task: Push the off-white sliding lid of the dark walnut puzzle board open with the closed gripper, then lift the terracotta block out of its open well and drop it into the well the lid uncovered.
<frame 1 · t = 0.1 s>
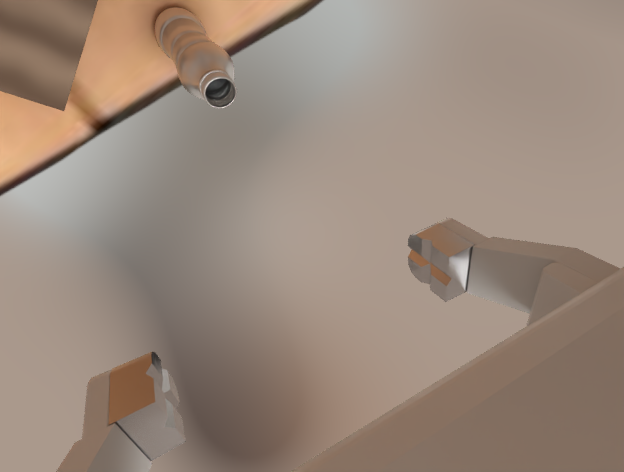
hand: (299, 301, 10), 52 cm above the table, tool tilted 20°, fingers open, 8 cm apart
plastic bottle: (176, 28, 49), on the table
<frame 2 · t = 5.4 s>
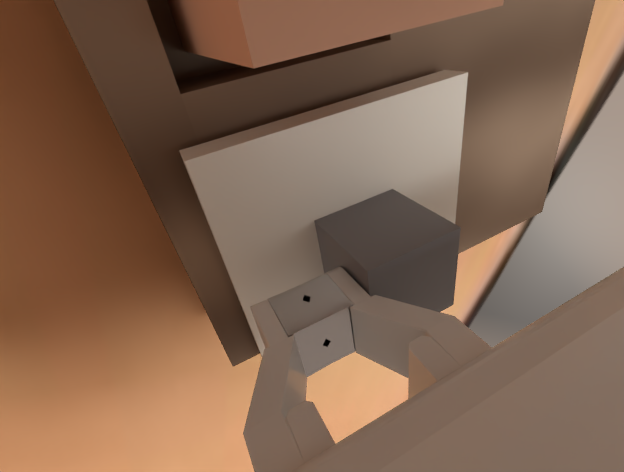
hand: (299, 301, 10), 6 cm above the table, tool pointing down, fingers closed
board: (354, 69, 14), on the table
lid: (375, 255, 11), point 6 cm above the table, slide at 0.7 cm, touching gripper
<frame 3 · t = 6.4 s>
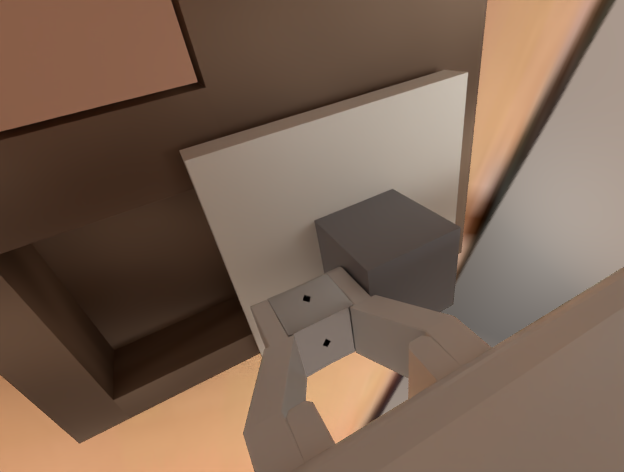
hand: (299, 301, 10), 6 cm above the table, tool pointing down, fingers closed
board: (219, 107, 13), on the table
lid: (375, 255, 11), point 6 cm above the table, slide at 6.5 cm, touching gripper
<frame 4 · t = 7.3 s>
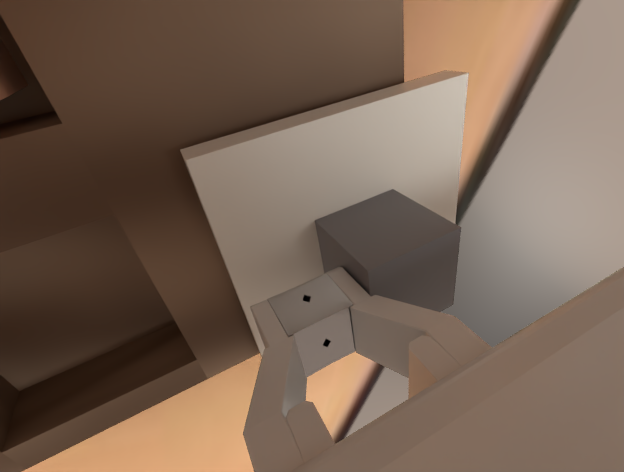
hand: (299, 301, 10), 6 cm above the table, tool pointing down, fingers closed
board: (121, 133, 12), on the table
lid: (375, 255, 11), point 6 cm above the table, slide at 10.0 cm, touching gripper
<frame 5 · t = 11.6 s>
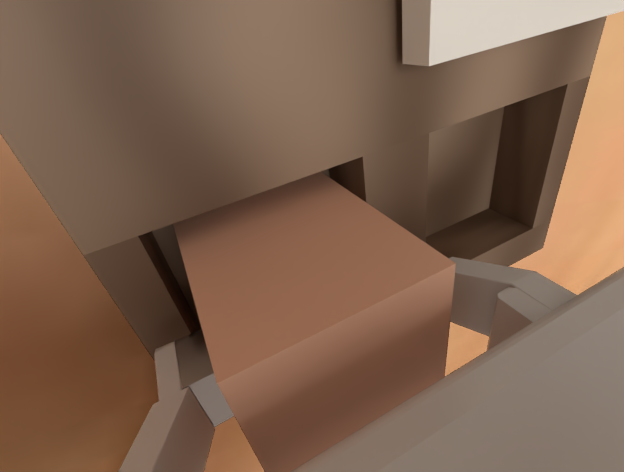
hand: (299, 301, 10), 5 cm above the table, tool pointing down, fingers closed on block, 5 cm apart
board: (338, 102, 13), on the table
block: (260, 244, 13), point 1 cm above the table, touching board, gripper
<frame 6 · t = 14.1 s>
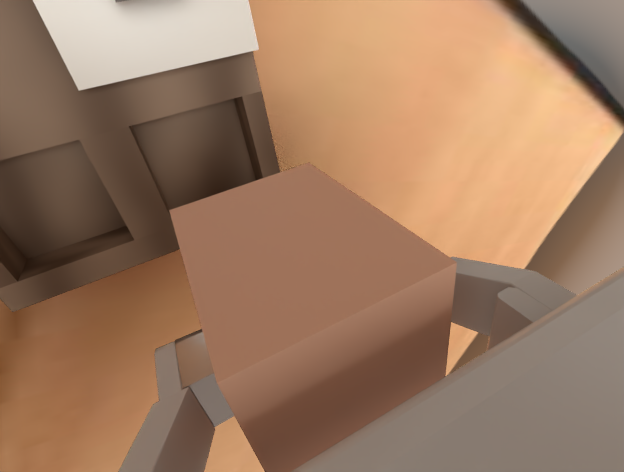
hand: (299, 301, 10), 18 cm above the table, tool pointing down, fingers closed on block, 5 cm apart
board: (100, 107, 21), on the table
block: (260, 243, 13), point 14 cm above the table, touching gripper
when the fingers open (6 cm above the table, at t = 16.6 s): block stays where it is, resting on board.
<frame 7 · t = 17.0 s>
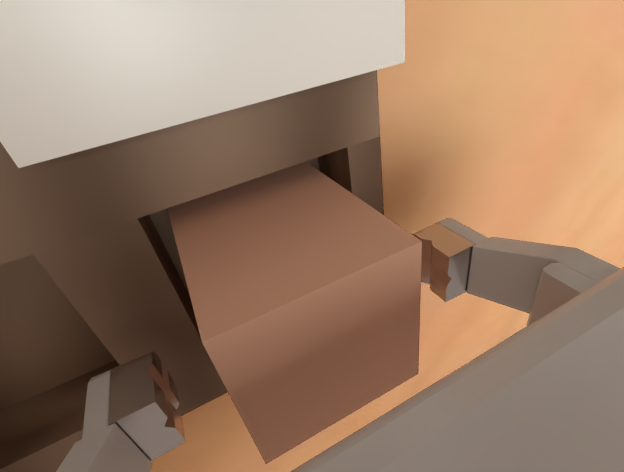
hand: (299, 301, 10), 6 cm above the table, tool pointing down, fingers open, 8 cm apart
board: (83, 167, 11), on the table
block: (252, 233, 14), point 1 cm above the table, touching board
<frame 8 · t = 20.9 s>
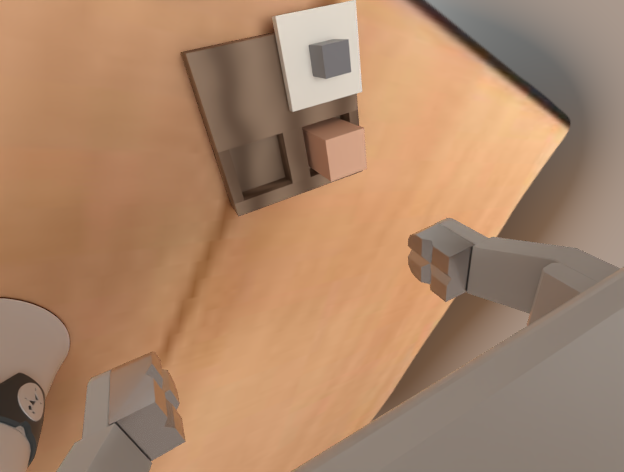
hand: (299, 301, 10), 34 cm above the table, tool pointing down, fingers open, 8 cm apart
board: (280, 117, 42), on the table
lid: (327, 58, 36), point 6 cm above the table, slide at 10.0 cm
block: (319, 140, 45), point 1 cm above the table, touching board
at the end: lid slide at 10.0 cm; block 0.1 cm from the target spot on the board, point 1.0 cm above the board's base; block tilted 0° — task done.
